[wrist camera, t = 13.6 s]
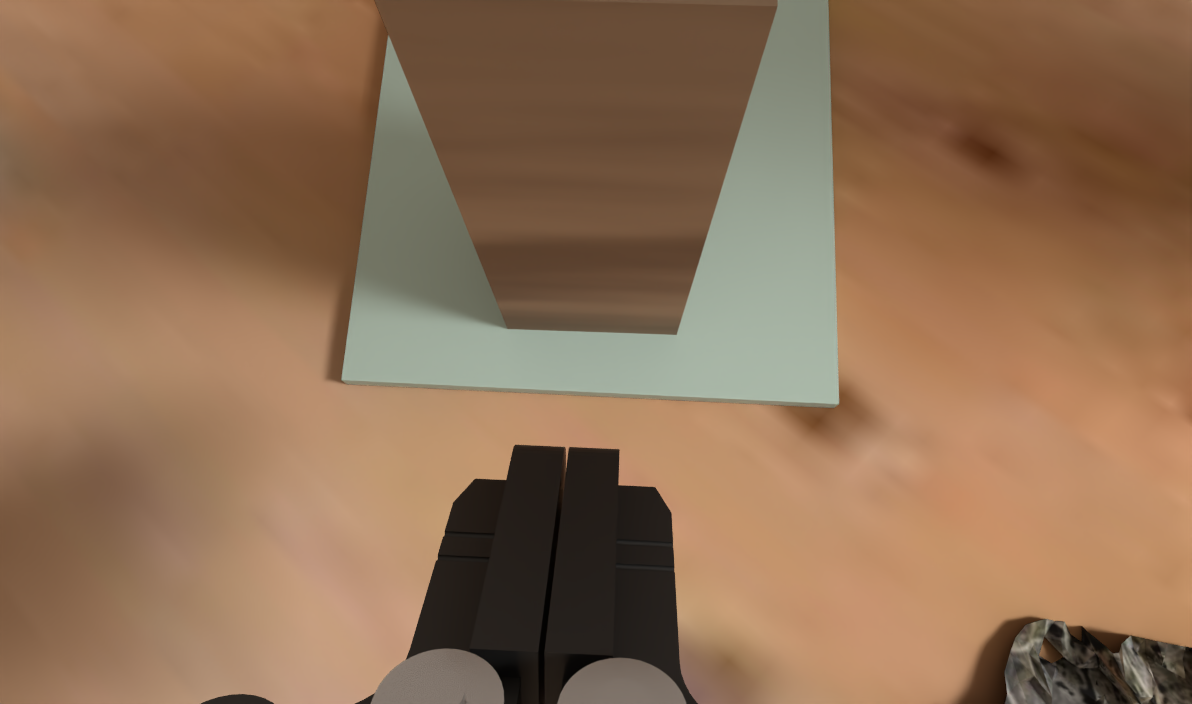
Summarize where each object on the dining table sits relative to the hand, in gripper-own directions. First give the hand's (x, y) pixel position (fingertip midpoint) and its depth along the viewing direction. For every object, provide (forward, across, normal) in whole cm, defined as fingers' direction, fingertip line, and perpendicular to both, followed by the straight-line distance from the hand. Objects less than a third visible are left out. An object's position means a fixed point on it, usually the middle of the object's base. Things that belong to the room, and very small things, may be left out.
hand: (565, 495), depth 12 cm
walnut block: (+11, 0, +1) cm, 11 cm away
